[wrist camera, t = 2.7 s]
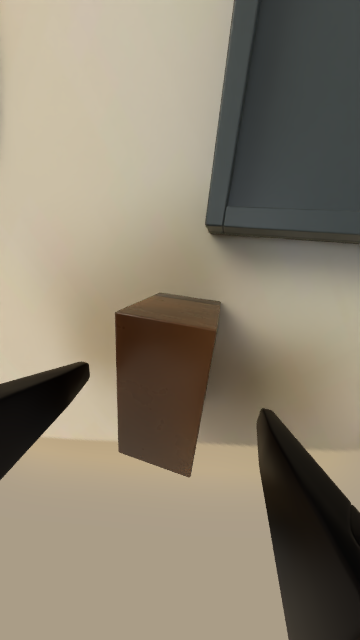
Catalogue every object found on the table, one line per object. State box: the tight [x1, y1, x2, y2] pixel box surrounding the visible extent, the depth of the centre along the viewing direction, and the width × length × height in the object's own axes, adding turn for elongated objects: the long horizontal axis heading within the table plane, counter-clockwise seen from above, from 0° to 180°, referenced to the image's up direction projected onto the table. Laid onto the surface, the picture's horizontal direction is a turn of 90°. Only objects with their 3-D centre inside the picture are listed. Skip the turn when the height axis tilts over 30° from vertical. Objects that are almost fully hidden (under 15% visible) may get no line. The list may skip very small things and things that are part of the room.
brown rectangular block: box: [115, 293, 221, 477], centre depth 10 cm, size 4×8×5 cm, turn 174°
